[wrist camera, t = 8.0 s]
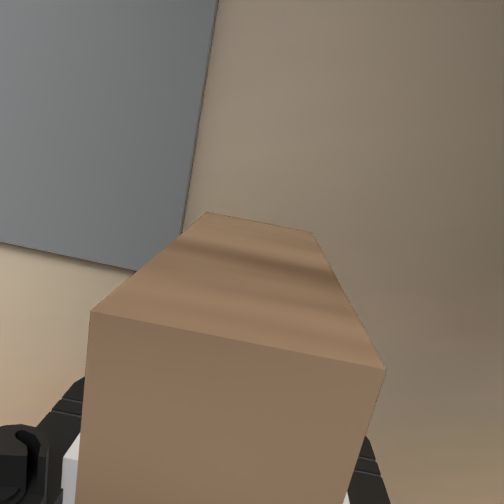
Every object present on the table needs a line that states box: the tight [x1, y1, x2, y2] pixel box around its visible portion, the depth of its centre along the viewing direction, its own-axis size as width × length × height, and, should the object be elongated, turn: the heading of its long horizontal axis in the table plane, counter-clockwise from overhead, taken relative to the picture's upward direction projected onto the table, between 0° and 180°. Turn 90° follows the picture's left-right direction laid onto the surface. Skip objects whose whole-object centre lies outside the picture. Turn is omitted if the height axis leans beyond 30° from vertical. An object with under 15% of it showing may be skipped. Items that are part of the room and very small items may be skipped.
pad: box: [0, 0, 218, 271], centre depth 14 cm, size 14×8×1 cm, turn 168°
